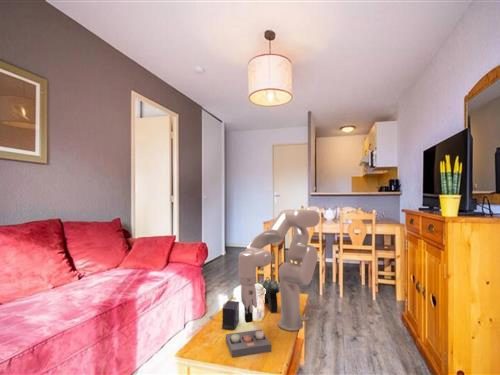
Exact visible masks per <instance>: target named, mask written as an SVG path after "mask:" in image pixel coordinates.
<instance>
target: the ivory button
mask: <svg viewBox="0 0 500 375" xmlns="http://www.w3.org/2000/svg"><path fill="white" fill-rule="evenodd" d="M264 334H265V333H264V331H263V330H262V331H257V332H256V340H263V339H264Z"/></svg>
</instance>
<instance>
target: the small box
mask: <svg viewBox="0 0 500 375" xmlns="http://www.w3.org/2000/svg"><path fill="white" fill-rule="evenodd" d="M221 321H222V325H221V327H222V328H221V329H222V330H228V331H229V330H230V331H233V330H235V329H236V328H237V325H238V324H239V322H240V301H234V300H233V301H232V300H227V302H226V303H225V305H223V307H222V320H221Z"/></svg>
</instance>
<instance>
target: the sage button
mask: <svg viewBox="0 0 500 375" xmlns="http://www.w3.org/2000/svg"><path fill="white" fill-rule="evenodd" d="M239 342H240V336H239V335H238V334H233V335H232V336H231V343H232V344H235V343H239Z"/></svg>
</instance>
